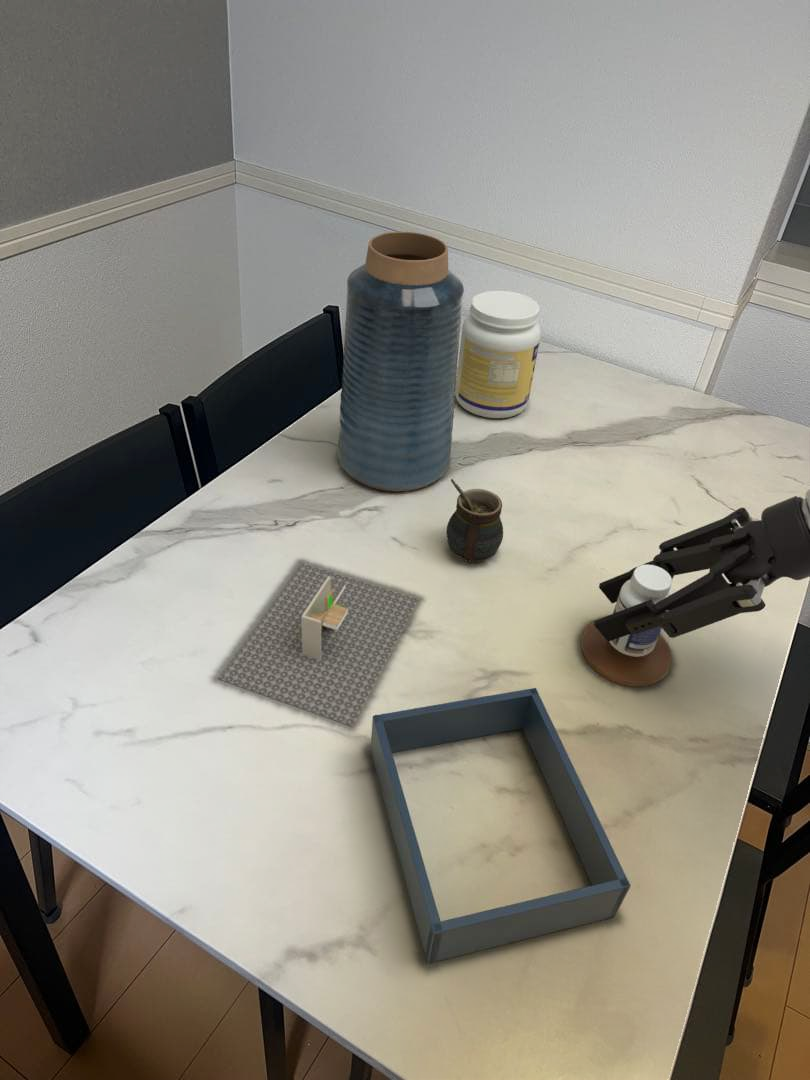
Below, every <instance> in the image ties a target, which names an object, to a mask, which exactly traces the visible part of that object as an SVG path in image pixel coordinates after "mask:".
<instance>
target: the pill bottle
mask: <svg viewBox="0 0 810 1080" xmlns="http://www.w3.org/2000/svg"><path fill="white" fill-rule="evenodd" d="M636 567H637V568H636V569H635V571H634V573H633V575H632V577H631V579H630V580H628V581H627V582H625V583H624V585H623V586H622V588H621V590H620V593H619V596H618V599H617V602H615V605H614V609H613V612H612V614H614V613H616V612H619V611H622V610H624V609H627V608H630V607H632V606H635V605H638V604H640V603H643V602H646V601H648V600H650V599H651V600H652V601H653V603H654V604H656V603H657V602H659V601H661V600H663V599H664V598H666V597H668V596H670V595H671V592H670V591H671V588H672V584H673V579H672V578H671V576H670V575H669V573H668V572H667V571H665V570H664V569H662V568H660V567H658V566H654V565H643V564H641V566H640V565H638V566H636ZM666 611H669V610H666ZM662 630H663V629H662V627H656V628H653V629H650V630H647V631H644V632H641V633H639V634H629V635H626V636H623V637H620V638H618V639H615V640H612V641H609V642H610V643H611V645H612V646H613V647H614V648H615V649H616V650H618V651H619V652H621V653H623V654H626V655H629V656H634V657H639V656H644V655H647V654H649V653H650V652H651V651H652V650H653V649H654V647H655V645H656V642H657V640H658V637H659V635H661V632H662Z"/></svg>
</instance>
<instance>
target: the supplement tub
mask: <svg viewBox="0 0 810 1080" xmlns="http://www.w3.org/2000/svg"><path fill="white" fill-rule="evenodd" d="M470 304H471V305H470V307H469V314H468V315H467V316H466V317H465V318H464V320H463V323H462V326H461V337H460V343H459V352H458V362H457V374H456V385H455V399H456V401H457V403H458V404H459V406H461V407H462V408H463V409H464V410H466V411H468V412H469V413H472V414H474V415H477V416H480V417H484V418H490V419H506V418H511V417H514V416H516V415H517V416H518V415H519V414H520V413H522V412H524V411H525V409H526V408H527V407H528V405H529V401H530V395H531V390H532V385H533V379H534V375H535V369H536V363H537V357H538V352H539V347H540V342H541V338H542V330H541V326H540V323H538V322H539V319H540V314H539V313H540V306H539V304H538V302H537V301H535V299H533V298H531V297H530V296H527V295H525V294H523V293H519V292H515V291H510V290H488V291H483V292H480V293H478V294H476V295H474V296H473V298H471V303H470Z"/></svg>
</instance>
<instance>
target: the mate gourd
mask: <svg viewBox="0 0 810 1080" xmlns="http://www.w3.org/2000/svg"><path fill="white" fill-rule="evenodd" d="M450 482H451V483H452V485H453V486H454V488H455V490H456V491H457V492H458V493H459V495H458V496H457V499H456V506H455V511H454V512H453V514H452V515H451V516H450V518H449V520H448V521H447V522H448V523H447V525H446V533H445V534H446V540H447V545H448V547H449V550H451V552H452V553H453V554H454V555H455V556H457V557H458V558H460V559H462V560H464V561H465V562H467V563H468V562H470V564H471V563H478V562H483V561H486V560H488V559H490V558H492V557H493V556H495V555H496V553H497V552H498V550H499V549H500V546H501V545H502V542H503V539H504V526H503V522H502V520H501V514H502V508H503V501H502V499H501V498H500V497H499V496H498V495H497V494H496V493H493V491H490V490H487V489H483V488H472V489H471V488H470V489H467V490H465V491H463V489H462V488H461V487H460V485H459V484H458V483H456V481H455V480H454V479H453V478H451V479H450Z"/></svg>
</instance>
